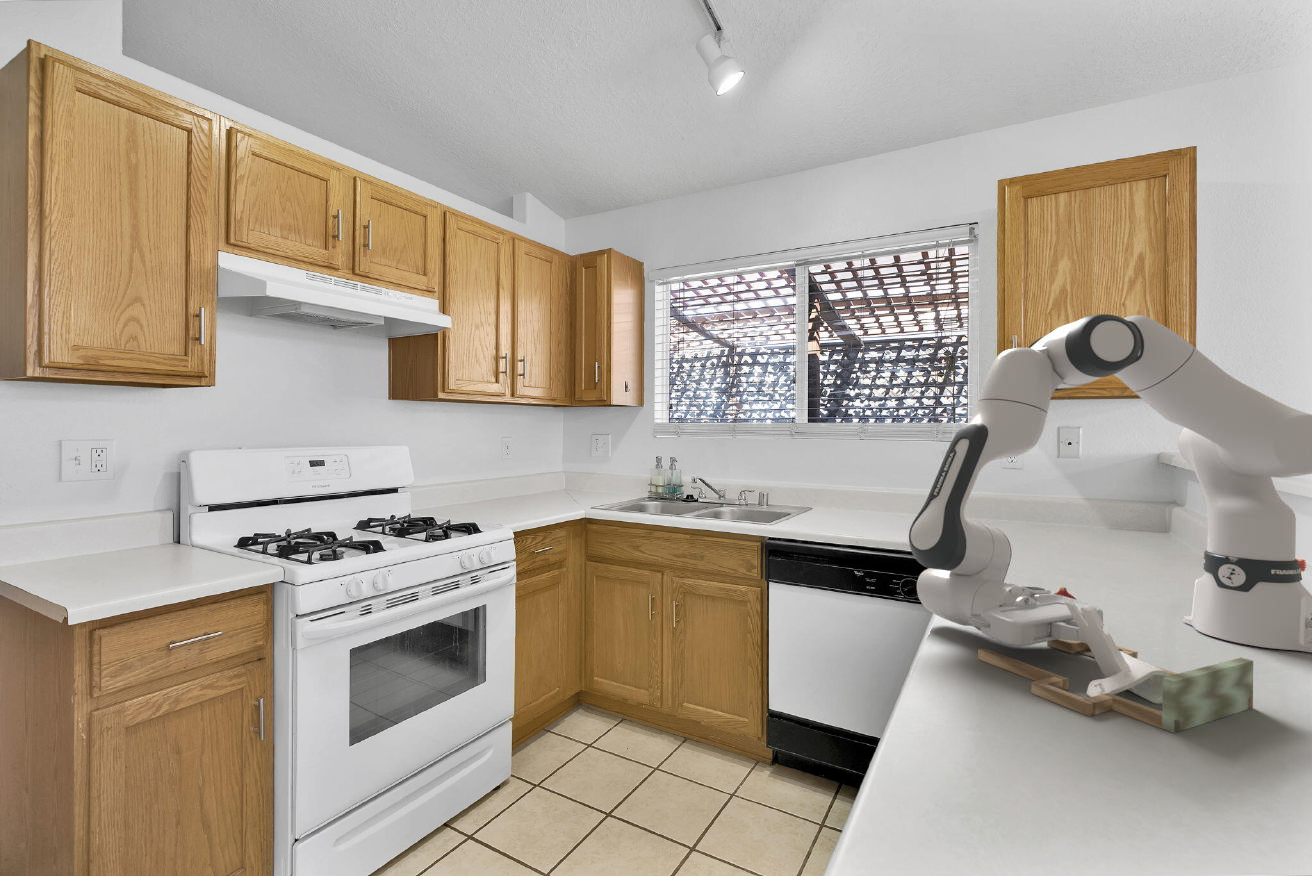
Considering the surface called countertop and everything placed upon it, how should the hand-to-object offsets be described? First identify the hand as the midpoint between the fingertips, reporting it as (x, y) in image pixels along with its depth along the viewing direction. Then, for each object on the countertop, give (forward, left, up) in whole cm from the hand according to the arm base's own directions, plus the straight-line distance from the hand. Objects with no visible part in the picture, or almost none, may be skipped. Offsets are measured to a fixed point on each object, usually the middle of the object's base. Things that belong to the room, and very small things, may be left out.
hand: (1097, 637), depth 87 cm
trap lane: (0, +1, -6) cm, 6 cm away
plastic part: (+2, +4, -6) cm, 8 cm away
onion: (-17, -16, -6) cm, 24 cm away
